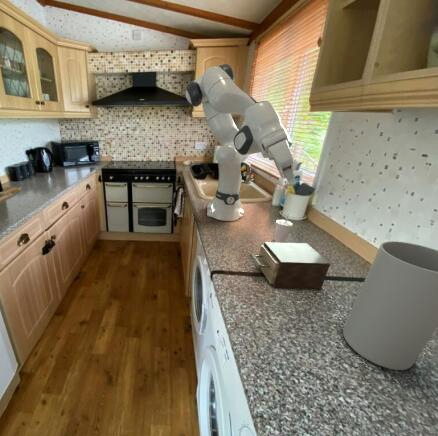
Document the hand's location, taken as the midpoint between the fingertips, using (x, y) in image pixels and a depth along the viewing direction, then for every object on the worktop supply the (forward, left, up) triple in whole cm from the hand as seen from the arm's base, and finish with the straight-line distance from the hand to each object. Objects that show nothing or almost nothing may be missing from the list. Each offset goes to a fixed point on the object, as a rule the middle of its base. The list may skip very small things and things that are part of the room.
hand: (293, 184), depth 75 cm
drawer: (+4, 0, -30) cm, 30 cm away
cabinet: (+4, +3, -31) cm, 31 cm away
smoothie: (-20, +11, -31) cm, 38 cm away
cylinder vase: (+31, +10, -31) cm, 45 cm away
